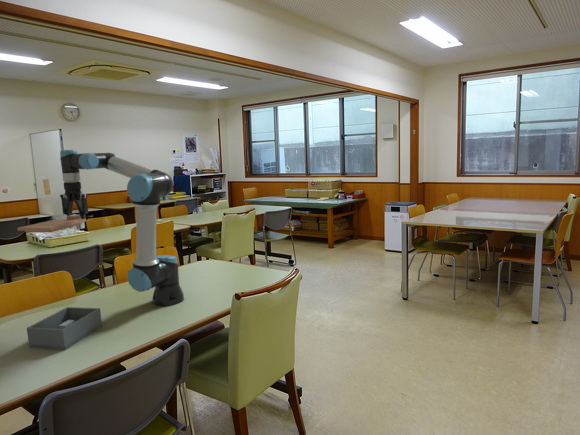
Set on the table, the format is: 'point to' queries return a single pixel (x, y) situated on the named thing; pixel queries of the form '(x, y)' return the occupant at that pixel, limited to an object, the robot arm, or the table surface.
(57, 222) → the lid
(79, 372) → the table surface
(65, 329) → the tub
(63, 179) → the robot arm
